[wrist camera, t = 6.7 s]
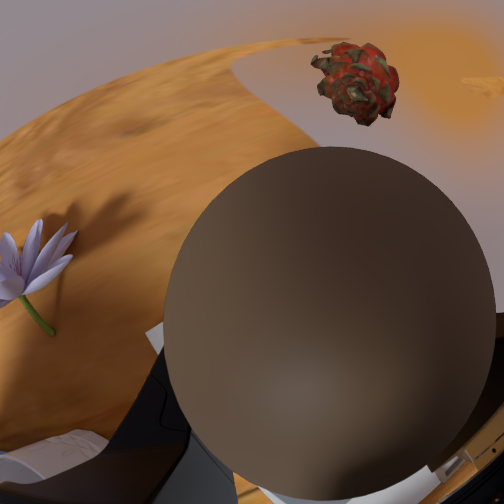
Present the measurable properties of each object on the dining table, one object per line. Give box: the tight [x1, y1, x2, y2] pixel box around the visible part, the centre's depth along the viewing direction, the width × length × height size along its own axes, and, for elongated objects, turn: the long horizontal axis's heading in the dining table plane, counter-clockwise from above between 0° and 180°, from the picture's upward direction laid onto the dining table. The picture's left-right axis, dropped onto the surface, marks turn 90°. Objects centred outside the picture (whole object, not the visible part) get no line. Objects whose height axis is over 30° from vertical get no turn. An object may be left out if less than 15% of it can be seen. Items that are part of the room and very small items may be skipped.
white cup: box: [0, 429, 109, 484], centre depth 13 cm, size 8×8×10 cm
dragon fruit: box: [311, 42, 399, 126], centre depth 25 cm, size 8×8×12 cm
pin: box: [163, 147, 496, 501], centre depth 9 cm, size 4×4×13 cm
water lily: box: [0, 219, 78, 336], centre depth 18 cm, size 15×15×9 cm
